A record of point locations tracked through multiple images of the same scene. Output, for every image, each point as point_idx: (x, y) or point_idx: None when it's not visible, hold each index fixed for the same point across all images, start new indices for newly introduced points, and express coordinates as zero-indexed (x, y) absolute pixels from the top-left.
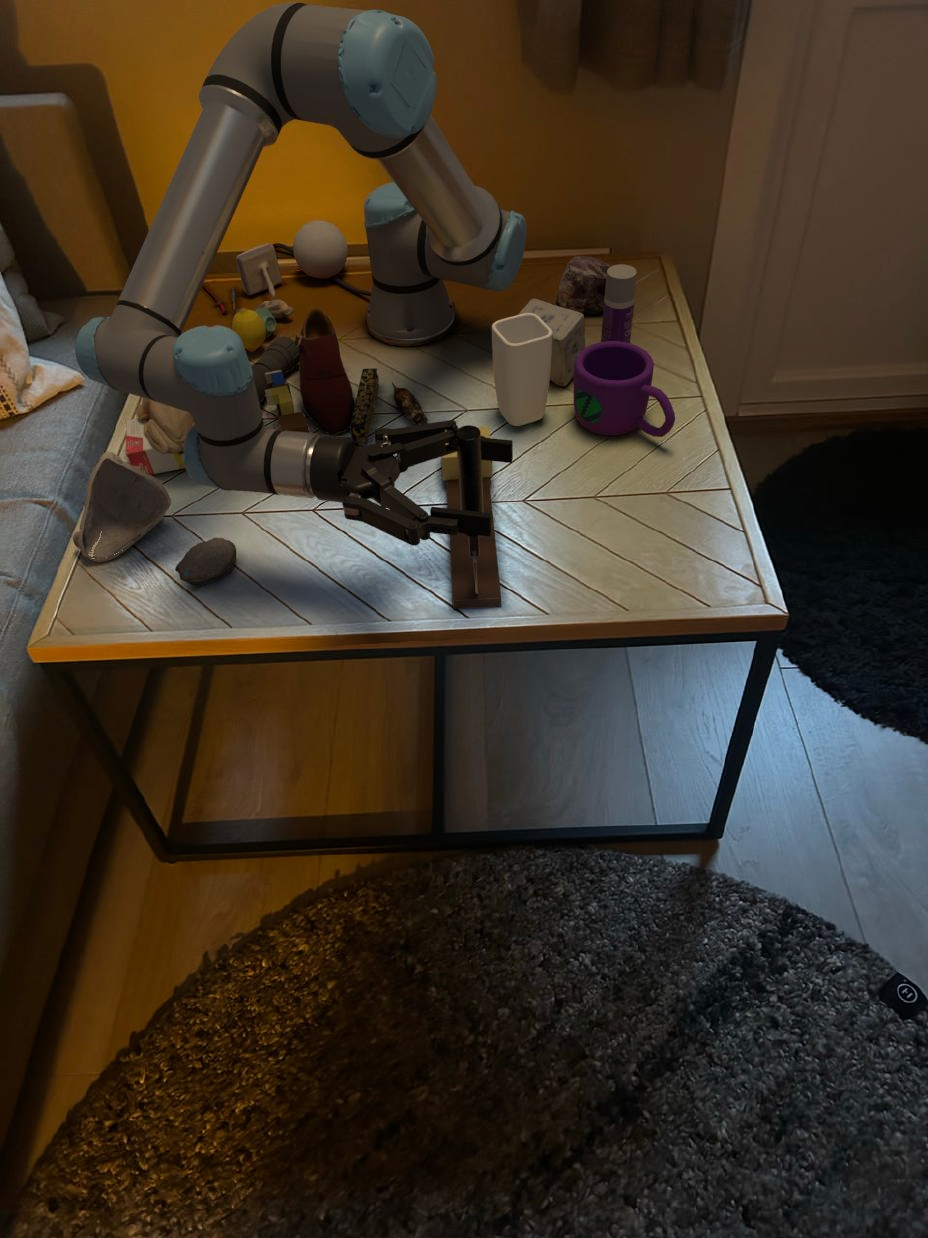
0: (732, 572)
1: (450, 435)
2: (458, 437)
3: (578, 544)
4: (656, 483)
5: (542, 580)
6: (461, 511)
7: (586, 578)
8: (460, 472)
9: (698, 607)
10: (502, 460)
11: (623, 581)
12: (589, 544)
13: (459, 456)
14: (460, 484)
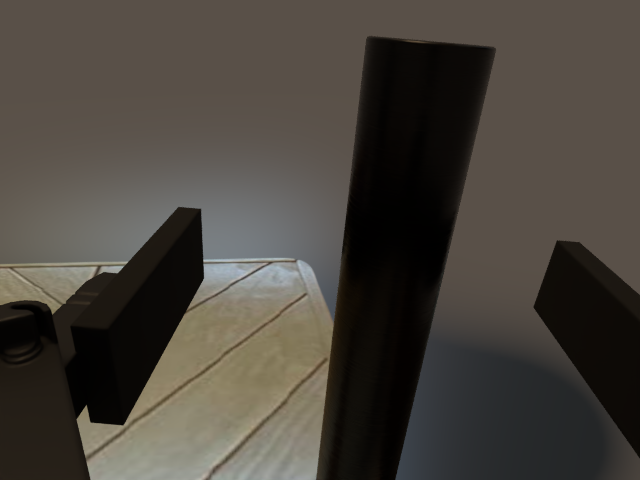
0: (250, 275)
1: (46, 363)
2: (487, 51)
3: (171, 419)
4: None
5: (269, 476)
6: (620, 292)
7: (262, 406)
8: (438, 270)
9: (309, 300)
10: (195, 288)
11: (268, 361)
12: (175, 402)
13: (461, 178)
14: (422, 334)
